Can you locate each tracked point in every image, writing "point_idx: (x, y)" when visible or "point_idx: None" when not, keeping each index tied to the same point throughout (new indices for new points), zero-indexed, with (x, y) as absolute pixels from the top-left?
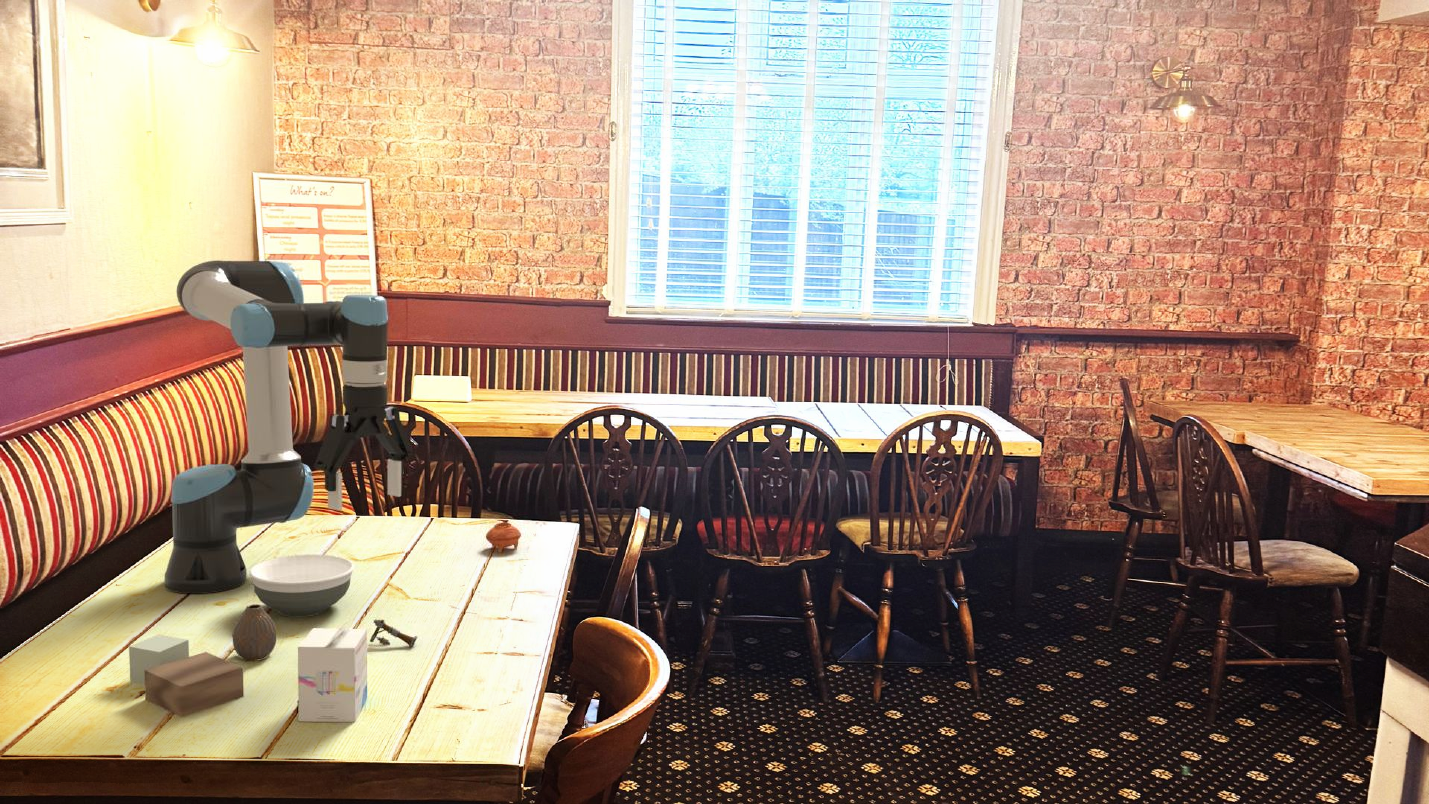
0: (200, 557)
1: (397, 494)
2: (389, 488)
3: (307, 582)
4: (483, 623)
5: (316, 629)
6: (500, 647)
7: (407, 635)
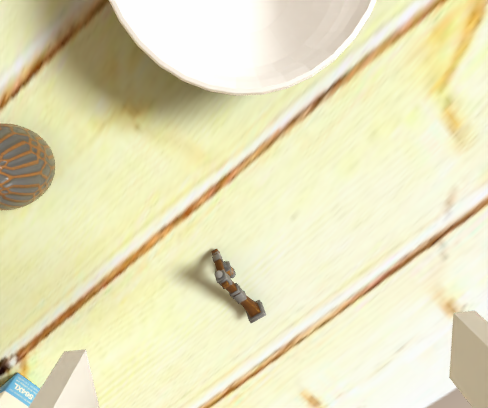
0: None
1: (455, 381)
2: (472, 346)
3: (177, 76)
4: (410, 305)
5: None
6: (341, 398)
7: (253, 305)
